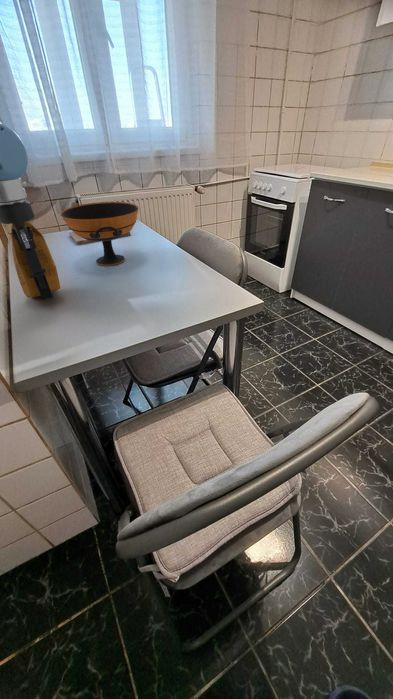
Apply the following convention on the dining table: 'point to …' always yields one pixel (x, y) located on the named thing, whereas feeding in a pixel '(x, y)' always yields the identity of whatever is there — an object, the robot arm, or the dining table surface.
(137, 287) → the dining table surface
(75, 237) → the chopping board
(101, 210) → the footed pedestal bowl
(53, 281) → the coffee package
